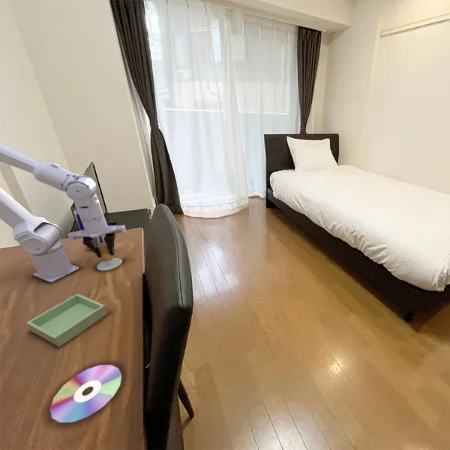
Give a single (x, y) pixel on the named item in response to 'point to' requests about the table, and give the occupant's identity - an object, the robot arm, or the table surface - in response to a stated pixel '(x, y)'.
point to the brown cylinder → (104, 252)
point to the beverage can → (83, 226)
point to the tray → (67, 319)
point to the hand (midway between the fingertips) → (106, 255)
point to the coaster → (109, 264)
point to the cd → (86, 405)
